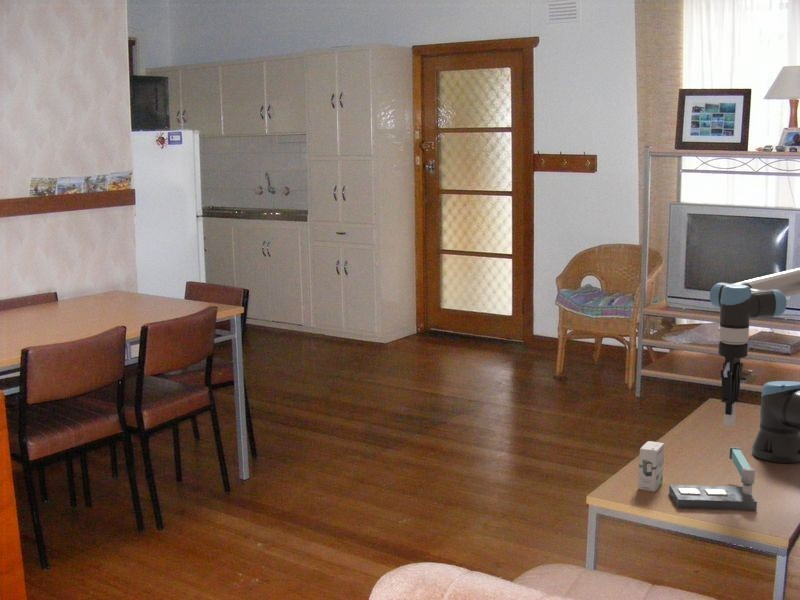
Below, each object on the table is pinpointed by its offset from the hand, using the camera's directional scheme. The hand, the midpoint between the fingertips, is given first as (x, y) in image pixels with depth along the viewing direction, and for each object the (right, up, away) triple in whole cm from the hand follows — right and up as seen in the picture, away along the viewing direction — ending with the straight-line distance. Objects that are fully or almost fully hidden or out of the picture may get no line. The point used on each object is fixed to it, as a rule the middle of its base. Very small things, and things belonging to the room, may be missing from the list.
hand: (729, 424), depth 261 cm
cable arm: (+2, -12, -3) cm, 13 cm away
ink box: (-21, -17, +1) cm, 28 cm away
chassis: (-8, -19, -11) cm, 23 cm away
